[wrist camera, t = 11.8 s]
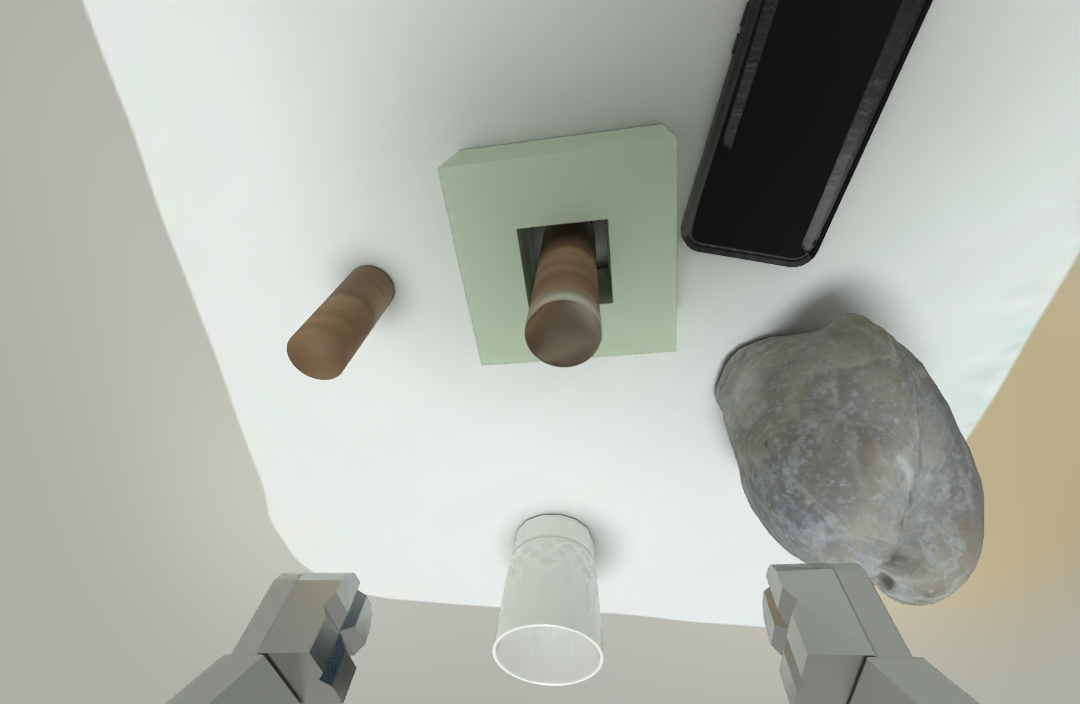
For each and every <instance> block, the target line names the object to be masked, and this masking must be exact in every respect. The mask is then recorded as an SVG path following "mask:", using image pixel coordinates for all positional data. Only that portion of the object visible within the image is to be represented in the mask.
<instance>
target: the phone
mask: <svg viewBox="0 0 1080 704" xmlns="http://www.w3.org/2000/svg"><path fill="white" fill-rule="evenodd" d="M932 1H933V0H749V2H747V5H746V9H745V12H744V15H743V19H742V22H741V25H740V26H741V30H740V33H738V34H737V37H736V41H735V44H734V47H733V51H732V54H733V56H732V59H731V63H730V66H729V69H728V73H727V76H726V79H725V83H724V86H723V89H722V93H721V96H720V99H719V103H718V106H717V109H716V112H715V116H714V119H713V122H712V126H711V129H710V132H709V136H708V139H707V142H706V146H705V149H704V152H703V156H702V159H701V162H700V166H699V169H698V172H697V175H696V179H695V182H694V185H693V189H692V192H691V195H690V199H689V202H688V205H687V209H686V212H685V215H684V219H683V222H682V226H681V234H682V238H683V240H684V241H685V243H686V245H687V246H688V247H689V248H691V249H692V250H695V251H698V252H704V253H710V254H716V255H722V256H728V257H733V258H739V259H745V260H751V261H757V262H763V263H769V264H775V265H781V266H787V267H798V266H802V265H804V264H806V263H808V262H809V261H810V260H812V259H813V258H814V257H815V255H816V253H817V252H818V250H819V248H820V246H821V243H822V241H823V239H824V237H825V235H826V232H827V230H828V228H829V226H830V224H831V222H832V219H833V217H834V215H835V213H836V211H837V208H838V206H839V204H840V202H841V200H842V197H843V195H844V193H845V191H846V189H847V187H848V184H849V182H850V180H851V178H852V176H853V173H854V171H855V169H856V167H857V165H858V163H859V160H860V158H861V156H862V154H863V152H864V149H865V147H866V145H867V143H868V141H869V139H870V136H871V134H872V132H873V130H874V128H875V125H876V123H877V121H878V119H879V117H880V114H881V112H882V110H883V108H884V106H885V104H886V101H887V99H888V97H889V95H890V93H891V90H892V88H893V86H894V84H895V82H896V80H897V77H898V75H899V73H900V71H901V69H902V66H903V64H904V62H905V60H906V58H907V56H908V53H909V51H910V49H911V47H912V45H913V42H914V40H915V38H916V36H917V34H918V31H919V29H920V27H921V25H922V23H923V21H924V18H925V16H926V14H927V12H928V10H929V7H930V5H931V3H932Z"/></svg>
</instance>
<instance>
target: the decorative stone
mask: <svg viewBox="0 0 1080 704" xmlns="http://www.w3.org/2000/svg"><path fill="white" fill-rule="evenodd" d="M715 398H716V401H717V403H718V404H719V406H720V408H721V410H722V411H723V416H724V422H725V425H726V428H727V432H728V435H729V438H730V442H731V445H732V448H733V450H734V453H735V457H736V460H737V463H738V466H739V470H740V477H741V483H742V487H743V490H744V492H745V494H746V497H747V499H748V502H749V504H750V506H751V508H752V510H753V511H754V512H755V514H756V515H757V517H758V518H759V519H760V521H761V523H762V524H763V525H764V527H765V528H766V529H767V531H768V532H769V533H770V535H771V536H772V537H773V538H774V539H775V540H776V541H777V542H778V543H779V544H780V545H781V546H782V547H783V548H784V549H786V550H787V551H788V552H789V553H790V554H792V555H794V556H795V557H797V558H799V559H800V560H802V561H803V562H805V563H826V564H833V563H858V564H860V565H861V566H862V567H863V568H864V569H865V571H866V573H867V574H868V576H869V578H870V580H871V582H872V584H873V585H875V586H877V587H878V588H879V589H880V590H881V591H882V592H883V593H884V594H886V595H887V596H888V597H889V598H891V599H893V600H895V601H897V602H900V603H902V604H906V605H919V606H921V605H928V604H934V603H936V602H938V601H940V600H942V599H945V598H947V597H949V596H950V595H952V594H953V593H954V592H955V591H956V590H957V589H959V588H960V587H961V586H962V585H963V584H964V583H965V582H966V581H967V580H968V578H969V577H970V575H971V574H972V572H973V571H974V569H975V568H976V565H977V563H978V560H979V557H980V554H981V551H982V545H983V538H984V493H983V487H982V482H981V478H980V476H979V473H978V471H977V468H976V465H975V462H974V460H973V457H972V454H971V451H970V448H969V447H968V445H967V443H966V441H965V439H964V437H963V436H962V434H961V432H960V430H959V428H958V426H957V423H956V421H955V419H954V416H953V414H952V412H951V409H950V407H949V405H948V403H947V401H946V400H945V399H944V397H943V396H942V394H941V392H940V390H939V389H938V387H937V385H936V384H935V383H934V381H933V380H932V378H931V377H930V375H929V374H928V372H927V371H926V369H925V367H924V366H923V364H922V363H921V362H920V361H919V360H918V359H917V358H916V357H915V356H914V355H913V354H912V353H911V352H910V351H909V350H908V349H907V348H905V347H904V346H903V345H902V344H900V343H899V342H897V341H896V340H895V339H894V337H893V336H891V335H890V334H889V333H888V332H887V331H885V330H884V329H883V328H881V327H879V326H877V325H875V324H874V323H872V322H871V321H870V320H869V319H868V318H866V317H864V316H861V315H858V314H853V313H852V314H846V315H844V316H842V317H840V318H838V319H836V320H834V321H832V322H831V323H830V324H829V325H828V326H827V327H825V328H821V329H818V330H814V331H810V332H805V333H799V334H793V335H786V336H775V337H769V338H766V339H762V340H759V341H756V342H754V343H752V344H750V345H747V346H745V347H743V348H741V349H739V350H738V351H737V352H736V353H735V354H734V355H733V356H732V357H731V358H730V360H729V361H728V362H727V364H726V365H725V368H724V370H723V373H722V375H721V378H720V380H719V382H718V383H717V386H716V390H715Z"/></svg>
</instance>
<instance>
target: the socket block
mask: <svg viewBox="0 0 1080 704" xmlns="http://www.w3.org/2000/svg"><path fill="white" fill-rule="evenodd" d="M677 155H678V138H677V137H676V136H675V135H674V134H672V133H671V132H670V131H669V130H668V129H667V128H666V127H665V126H664V125H663V124H657V125H649V126H642V127H634V128H626V129H619V130H611V131H603V132H596V133H588V134H580V135H572V136H565V137H557V138H549V139H542V140H534V141H526V142H519V143H511V144H503V145H495V146H488V147H480V148H472V149H465V150H459V151H458V152H457V153H456V154H454V155H453V156H452V157H451V158H450V159H448V160H447V161H446V162H445V163H444V164H442V165H441V166H440V167H439V168H438V172H439V177H440V181H441V186H442V190H443V195H444V199H445V204H446V208H447V213H448V217H449V222H450V226H451V231H452V235H453V240H454V244H455V249H456V253H457V257H458V262H459V266H460V271H461V275H462V280H463V284H464V289H465V293H466V298H467V302H468V307H469V311H470V316H471V320H472V325H473V329H474V334H475V338H476V343H477V347H478V351H479V356H480V360H481V365H496V364H509V363H523V362H536V361H541V360H539V359H538V358H537V357H535V356H534V355H533V353H532V352H531V351H530V349H529V348H528V346H527V343H526V340H525V325H526V320H527V315H528V311H529V307H530V302H531V297H532V292H533V287H534V282H535V277H536V270H535V263H534V256H533V249H532V242H531V235H530V228H529V227H538V226H547V225H557V224H566V223H575V222H585V221H594V220H603V219H606V231H607V247H608V262H609V268H603V269H597V278H598V291H599V305H600V315H601V324H602V340H601V343H600V346H599V348H598V350H597V351H596V353H595V354H594V355H593V356H592V357H605V356H618V355H632V354H645V353H659V352H673V351H676V280H677Z"/></svg>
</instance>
